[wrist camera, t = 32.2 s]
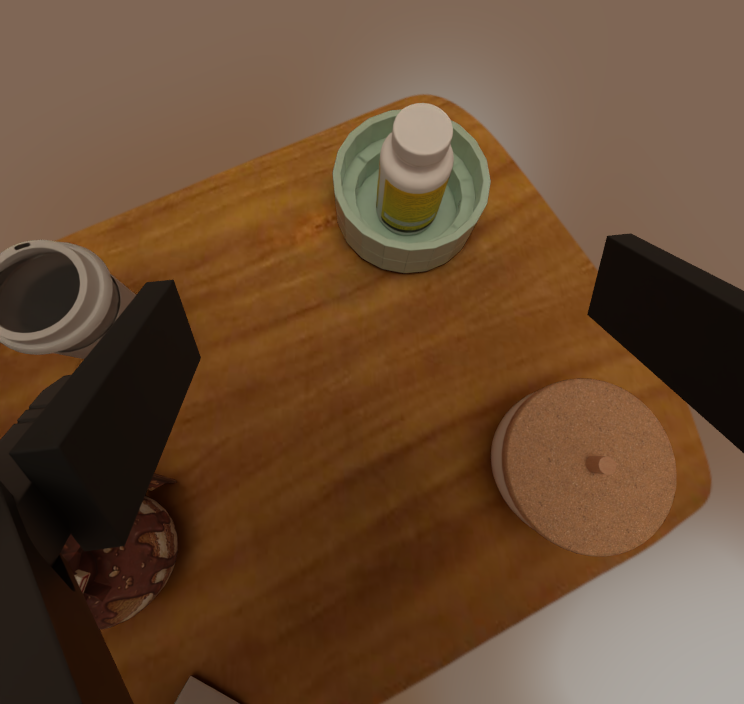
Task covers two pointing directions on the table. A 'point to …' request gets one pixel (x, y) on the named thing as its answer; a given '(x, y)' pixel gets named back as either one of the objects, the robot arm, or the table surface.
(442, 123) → the supplement bottle
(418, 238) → the sage bowl
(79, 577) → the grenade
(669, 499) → the trinket box
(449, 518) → the table surface
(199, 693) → the usb wall charger
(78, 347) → the cup
